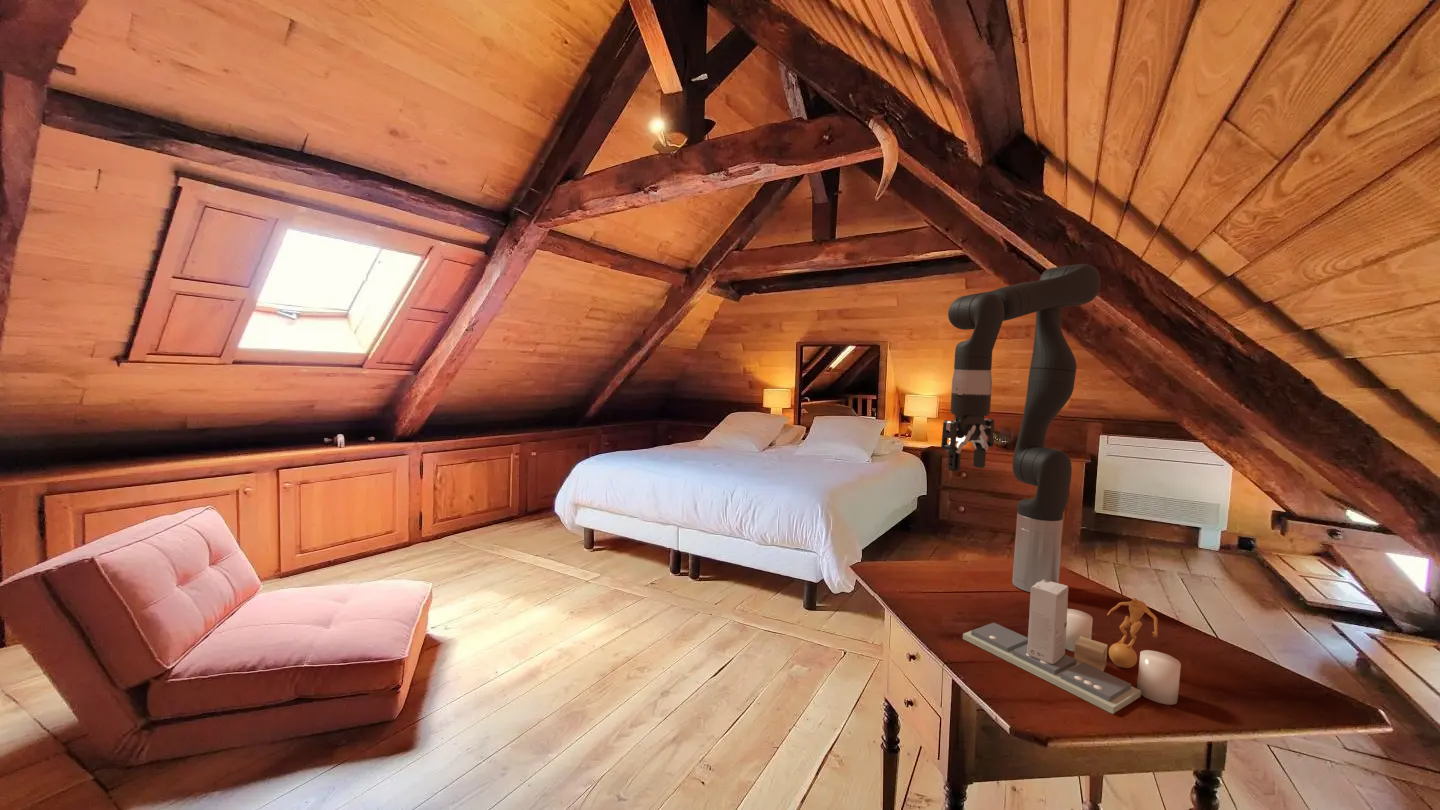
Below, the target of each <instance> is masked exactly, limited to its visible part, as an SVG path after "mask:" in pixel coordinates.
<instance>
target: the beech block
mask: <svg viewBox="0 0 1440 810" xmlns="http://www.w3.org/2000/svg"><path fill="white" fill-rule="evenodd" d="M1108 648H1109V647H1108V644H1106V643H1103V642H1101V641H1097V640H1093V639H1092V638H1091V639H1088V638H1084V637H1081V636H1080V638H1079V639H1078V641H1077V642H1076V644H1075V652H1074V655H1073V658H1074V659H1076V660H1077V662H1079V663H1085V664H1088V665H1090V666H1092V667H1094V668H1096V669H1099V670H1101V671H1103V672H1105V669H1106V667H1107V659H1108V657H1107V655H1108Z"/></svg>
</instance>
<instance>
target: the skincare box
mask: <svg viewBox="0 0 1440 810" xmlns="http://www.w3.org/2000/svg"><path fill="white" fill-rule="evenodd" d="M1068 597H1069V586H1068V585H1066V584H1063V583H1060V582H1059V583H1055V582H1051V581H1048V580H1042V581H1040V582H1037V583H1036V584H1035V585H1034V586H1032V587H1031V592H1030V597H1029V598H1030V599H1029V616H1028V617H1029V619H1028V628H1027V629H1028V631H1027V632H1028V633H1027V638H1028V646H1027V654H1028V655H1030V656H1032V657H1034V658H1036V659H1039V660H1041V661H1044V662H1047V663H1049V664H1054V663H1056V662H1057V661H1058V660H1060V659H1061V658H1062V657H1063V656H1064V654H1065V655H1066V649H1065V644H1066V626H1067V609H1069V608H1068V602H1069V601H1068V600H1069V598H1068Z"/></svg>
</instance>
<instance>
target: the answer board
mask: <svg viewBox="0 0 1440 810" xmlns="http://www.w3.org/2000/svg"><path fill="white" fill-rule="evenodd" d="M962 639H963V640H964V641H967V642H969V643H970V644H973V645H974V646H977V647H978V648H980V649H982V650H983V651H986V652H988V653H990V654H991V655H992V654H993V655H994V656H996V657H997V658H1000V659H1002V660H1005V662H1008V663H1010V664H1011V665H1012V664H1013V665H1014V666H1016V667H1018V668H1019V669H1023V670H1024V671H1026V672H1028V673H1030V674H1031V675H1035V676H1036V677H1038V678H1040V679H1042V680H1045V681H1047V682H1049V684H1052V685H1054V686H1056V687H1058V688H1060V689H1062V690H1065V691H1066V692H1068V693H1070V694H1072V695H1074V696H1076V697H1078V698H1079V699H1082V700H1084V701H1086V702H1087V703H1090V704H1092V705H1094V706H1096V707H1098V708H1100V709H1102V710H1104V711H1106V712H1108V713H1109V714H1111V715H1114V714H1115V713H1117V712H1118V711H1120V710H1122V709H1123V708H1125V707H1127V706H1128V705H1130V704H1131V703H1133V702H1134V701H1136V700H1137V699H1139V698H1141V696H1142V695H1141V690H1139V689H1137V687H1134V686H1132V683H1130V682H1127V681H1125V680H1123V679H1120V678H1118V677H1116V676H1114V675H1112V674H1110V673H1108V672H1105V671H1101V670H1099V669H1096V668H1094V667H1092V666H1090V665H1088V664H1085V663H1079V662H1077V660H1076V659H1074V657H1072V656H1070V655H1067V654H1066V653H1065V654H1064V656H1063V657H1062V658H1061V659H1060V660H1058V661H1057V662H1056V663H1054V664H1049V663H1047V662H1044V661H1041V660H1039V659H1036V658H1034V657H1032V656H1030V655H1028V654H1027V646H1028V636H1024V635H1023V634H1020V633H1018V632H1017V631H1013V630H1012V629H1009V628H1007V627H1005V626H1002V625H1001V624H998V623H996V622H990V623H988V624H986V625H984V626H980V627H978V628H975V629H972V630H969V631H967V632H964V633H962Z"/></svg>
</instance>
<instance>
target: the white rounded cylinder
mask: <svg viewBox="0 0 1440 810" xmlns="http://www.w3.org/2000/svg"><path fill="white" fill-rule="evenodd" d="M1093 620H1094V619H1093V616H1091V615H1090V614H1089V613H1086V612H1084V611H1081V610H1078V609H1074V608H1073V609H1072V608H1067V626H1066V644H1065V650H1068V651H1070V652H1075V644H1076V642H1077V641H1078V639H1079V638H1080V636H1081V637H1084V638H1088V639H1091V640H1092V635H1093V634H1092V631H1093V630H1092V629H1093Z"/></svg>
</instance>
